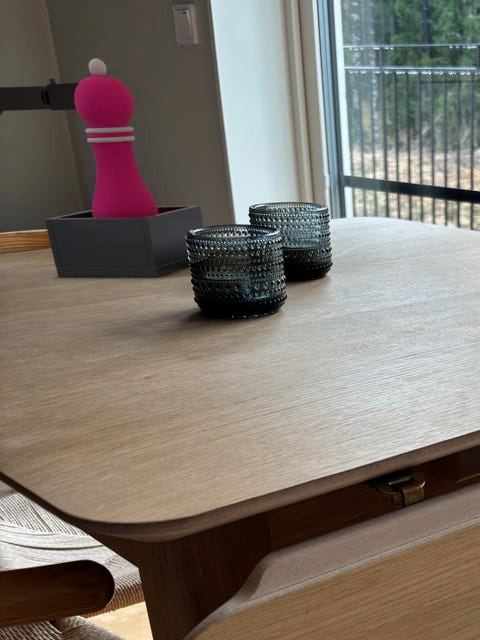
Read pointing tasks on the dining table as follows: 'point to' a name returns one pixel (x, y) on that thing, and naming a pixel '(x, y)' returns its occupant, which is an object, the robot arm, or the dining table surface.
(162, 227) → the basin
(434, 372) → the dining table surface
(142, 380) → the dining table surface
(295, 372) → the dining table surface
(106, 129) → the pepper mill
